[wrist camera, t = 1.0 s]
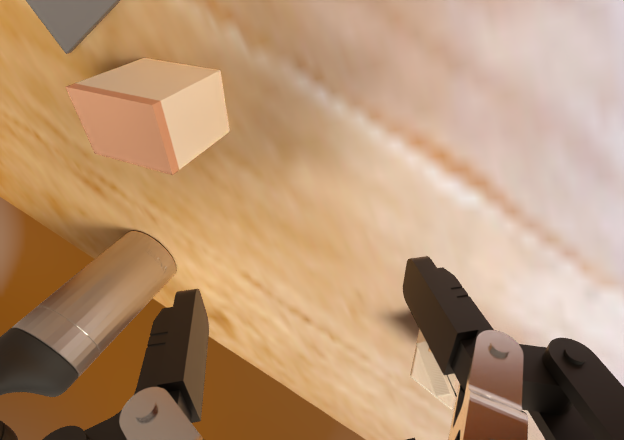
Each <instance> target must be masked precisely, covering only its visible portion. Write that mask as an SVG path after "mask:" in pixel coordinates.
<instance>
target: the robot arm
mask: <svg viewBox="0 0 624 440" xmlns="http://www.w3.org/2000/svg"><path fill="white" fill-rule="evenodd" d="M175 273H176V265H175V262H174V260H173V258H172V257H171V255H170V254H169V253H168V251H167V250H166V249H165V248H164V247H163V246H162V245H161V244H160V243H158V242H157V241H156V240H154V239H153V238H151V237H150V236H148V235H146V234H144V233H141V232H138V231H130V232H128V233H126V234H125V235H124V236H123V237H122V238H120V239H119V240H118V241H117V242H115V243H114V244H113V245H112V246H110V247H109V248H108V249H107V250H105V251H104V252H103V253H102V254H101V255H99V256H98V257H97V258H96V259H94V260H93V261H92V262H91V263H90V264H88V265H87V266H86V267H85V268H84V269H82V270H81V271H80V272H79V273H77V274H76V275H75V276H74V277H73V278H71V279H70V280H69V281H68V282H67V283H65V284H64V285H63V286H62V287H60V288H59V289H58V290H57V291H55V292H54V293H53V294H52V295H51V296H49V297H48V298H47V299H46V300H45V301H43V302H42V303H41V304H40V305H39V306H37V307H36V308H35V309H34V310H33V311H31V312H30V313H29V314H28V315H26V316H25V317H24V318H23V319H22V320H20V321H19V322H18V323H17V324H16V325H14V326H13V327H12V328H11V329H9V330H8V331H7V332H6V333H5V334H4V335H2V336H1V337H0V395H2V394H6V393H12V392H30V393H35V394H40V395H44V396H49V397H56V396H59V395H61V394H62V393H63V392H65V391H66V390H67V389H68V388H69V387H70V386H71V385H72V383H73V382H74V381H75V380H76V379H77V378H78V376H80V375H81V374H82V373H83V372H84V371H85V370H86V369H87V368H88V366H89V365H90V364H91V363H92V362H93V361H94V360H95V359H96V358H97V357H98V356H99V355H100V353H101V352H102V351H103V350H104V349H105V348H106V347H107V346H108V345H109V344H110V343H111V342H112V341H113V340H114V339H115V337H116V336H117V335H118V334H119V333H120V332H121V331H122V330H123V329H124V328H125V327H126V326H127V325H128V324H129V322H130V321H131V320H132V319H133V318H134V317H135V316H136V315H137V314H138V313H139V312H140V311H141V310H142V309H143V308H144V307H145V305H146V304H147V303H148V302H149V301H150V300H151V299H152V298H153V297H154V296H155V295H156V294H157V293H158V292H159V291H160V290H161V288H162V287H163V286H164V285H165V284H166V283H167V282H168V281H169V280H170V279H171V278H172V277H173V276H174V274H175ZM403 294H404V298H405V301H406V303H407V305H408V307H409V309H410V311H411V313H412V315H413V317H414V319H415V321H416V323H417V325H418V326H419V328H420V330H421V332H422V334H423V336H424V338H425V340H426V342H427V344H428V346H429V348H430V350H431V352H432V354H433V356H434V358H435V360H436V362H437V363H438V365H439V367H440V369H441V371H442V373H443V375H449V374H455V376H456V377H457V379H458V381H459V387H458V392H457V397H456V403H455V408H454V413H453V418H452V424H451V429H450V434H449V438H448V440H528V417H527V414H526V413H525V412H523V411H522V410H528V411H529V413H530V415H531V416H532V418H533V420H534V421H535V423H536V425H537V426H538V428H539V430H540V431H541V433H542V435H543V436H544V438H545V439H546V440H624V387H623V386H622V385H621V383H620V382H619V381H618V380H617V379H616V378H615V377H614V375H613V374H612V373H611V372H610V371H609V370H608V369H607V367H606V366H605V365H604V364H603V363H602V362H601V361H600V359H599V358H598V357H597V356H596V355H595V354H594V353H593V352H592V351H591V350H590V349H589V348H587V347H586V346H585V345H583V344H581V343H579V342H577V341H575V340H572V339H568V338H556V339H554V340H552V341H551V342H550V343H549V345H548V347H547V348H545V347H537V346H530V345H522V344H518V343H517V342H516V341H515V340H514V339H513V338H512V337H510V336H509V335H507V334H505V333H503V332H500V331H496V330H494V329H493V328H492V327H491V325H490V324H489V323H488V321H487V320H486V319H485V317H484V316H483V314H482V313H481V312H480V310H479V309H478V307H477V306H476V305H475V303H474V302H473V301H472V299H471V298H470V297H468V294H467V292H466V291H465V290H464V288H462V285H461V284H460V283H459V281H458V280H457V278H456V277H455V276H454V275H453V274H451V273H450V272H449V271H447V270H446V269H444V268H437V267H436V266H435V264H434V263H433V262H432V260H431V259H430V258H429V257H428V256H426V257H419V258H411V259H408V261H407V265H406V271H405V277H404V283H403ZM208 335H209V324H208V317H207V313H206V310H205V307H204V303H203V300H202V297H201V293H200V291H199V289H193V290H186V291H179V292H177V293H176V295H175V300H174V305H173V307H170V308H164V309H162V310H161V312H160V313H159V314H158V316H157V317H156V319H155V320H154V322H153V325H152V330H151V333H150V337H149V341H148V348H147V349H146V353H145V357H144V361H143V365H142V368H141V372H140V376H139V380H138V384H137V388H136V391H135V394H134V396H132V397H131V398H130V400H128V402H127V403H126V404H125V406H124V407H123V409H122V410H121V411H120V412H119V413H118V414H116V415H115V416H113V417H111V418H110V419H108V420H106V421H103V422H101V423H99V424H97V425H95V426H93V427H91V428H89V429H87V430H85V431H83V430H82V429H81V428H80V427H77V426H66V427H63V428H60V429H58V430H55V431H54V432H52V433H50V434H49V435H48V436H46V437H45V438H44V439H43V440H204V439H203V438H202V437H201V436H200V434H199V433H198V432H197V430H196V429H195V428H194V426H193V425H192V424H191V423H193V422H198V421H201V412H202V401H203V390H204V379H205V368H206V357H207V346H208ZM0 440H18V438H17V436H16V434H15V433H14V431H13V430H12V429H11V428H10V427H8V426H7V425H5V423H3V422H2V421H0ZM407 440H415V438H412V439H407Z"/></svg>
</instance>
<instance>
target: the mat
mask: <svg viewBox="0 0 624 440" xmlns="http://www.w3.org/2000/svg"><path fill="white" fill-rule="evenodd" d="M26 1H27V3H28V4H29V5H30V7H31V8H32V9H33V11H34V12H35V13H36V15H37V16H38V17H39V19H40V20H41V21H42V23H43V24H44V25H45V26H46V28H47V29H48V30H49V32H50V33H51V34H52V36H53V37H54V38H55V40H56V41H57V42H58V44H59V45H60V46H61V48H62V49H63V50H64V52H65V53H66V54H67V53H70V52H72V51H73V49H74V48H75V47H76V46H77V45H78V44H79V43H80V42H81V41H82V40H83V39H84V38H85V37H86V36H87V35H88V34H89V33H90V32H91V31H92V30H93V29H94V28H95V27H96V25H97V24H98V23H99V22H100V21H101V20H102V19H103V18H104V17H105V16H106V15H107V14H108V13H109V12H110V11H111V10H112V9H113V8H114V7H115V6H116V5H117V4H118V3H119V1H120V0H26Z"/></svg>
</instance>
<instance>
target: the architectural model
mask: <svg viewBox="0 0 624 440" xmlns="http://www.w3.org/2000/svg"><path fill="white" fill-rule="evenodd" d="M416 344H417V345H416V349H415V354H414V359H413V364H412V369H411V374H410V377H411V378H412V379H414V380H415V381H416V382H417V383H419V384H420V385H421V386H422V387H424V388H425V389H426V390H427V391H428V392H430V393H431V394H432V395H433V396H435V397H436V398H437V399H438V400H440V401H441V402H442V403H443V404H444V405H446V406H447V407H448V408H449V409H451V410H453V405H454V394H455V396H456V397H457V395H456V393H455V384H456V376H455V374H449V375H443V373H442V371H441V369H440V367H439V365H438V363H437V362H436V360H435V358H434V356H433V354H432V352H431V350H430V348H429V346H428V344H427V342H426V340H425V338H424V336H423V334H422V332H421V330H420V328H419V333H418V338H417V343H416Z"/></svg>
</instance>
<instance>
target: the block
mask: <svg viewBox="0 0 624 440" xmlns="http://www.w3.org/2000/svg"><path fill="white" fill-rule="evenodd" d="M66 89H67V92H68V94H69V96H70V98H71V101H72V103H73V105H74V108H75V110H76V112H77V114H78V117H79V119H80V121H81V123H82V126H83V128H84V130H85V132H86V135H87V137H88V139H89V141H90V144H91V146H92V148H93V150H94V153H95V154H99V155H102V156H106V157H110V158H113V159H117V160H120V161H124V162H128V163H131V164H135V165H138V166H142V167H146V168H149V169H153V170H157V171H160V172H164V173H167V174H171V175H173V174H174V173H176V172H177V171H178V170H180V169H181V168H182V167H184V166H185V165H186V164H188V163H189V162H190V161H192V160H193V159H194V158H196V157H197V156H198V155H200V154H201V153H202V152H204V151H205V150H206V149H207V148H209V147H210V146H211V145H213V144H214V143H215V142H217V141H218V140H219V139H221V138H222V137H223V136H225V135H226V134H227V133H229V132H230V130H229V123H228V117H227V110H226V104H225V97H224V90H223V84H222V77H221V71H220V70H217V69H211V68H205V67H199V66H192V65H186V64H180V63H174V62H168V61H162V60H156V59H150V58H142V59H139V60H136V61H134V62H131V63H128V64H126V65H123V66H120V67H118V68H115V69H112V70H109V71H107V72H104V73H101V74H99V75H96V76H93V77H91V78H88V79H85V80H83V81H80V82H77V83H74V84H72V85H69V86H66Z"/></svg>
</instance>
